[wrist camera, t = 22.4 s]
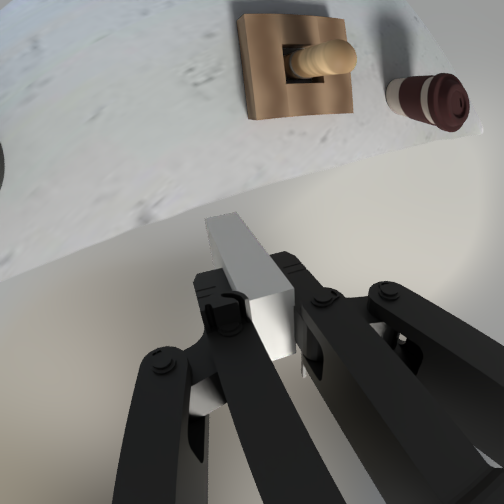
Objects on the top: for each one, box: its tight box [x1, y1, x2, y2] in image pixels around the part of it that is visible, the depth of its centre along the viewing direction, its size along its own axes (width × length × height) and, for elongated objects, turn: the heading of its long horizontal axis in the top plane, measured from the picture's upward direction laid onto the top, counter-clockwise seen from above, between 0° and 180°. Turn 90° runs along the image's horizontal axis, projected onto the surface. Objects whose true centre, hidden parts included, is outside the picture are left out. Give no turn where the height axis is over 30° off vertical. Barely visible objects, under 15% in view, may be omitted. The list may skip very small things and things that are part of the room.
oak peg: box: [283, 39, 357, 80], centre depth 35 cm, size 5×5×14 cm
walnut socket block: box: [237, 14, 353, 120], centre depth 39 cm, size 16×16×4 cm
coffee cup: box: [386, 73, 470, 132], centre depth 41 cm, size 10×10×15 cm
